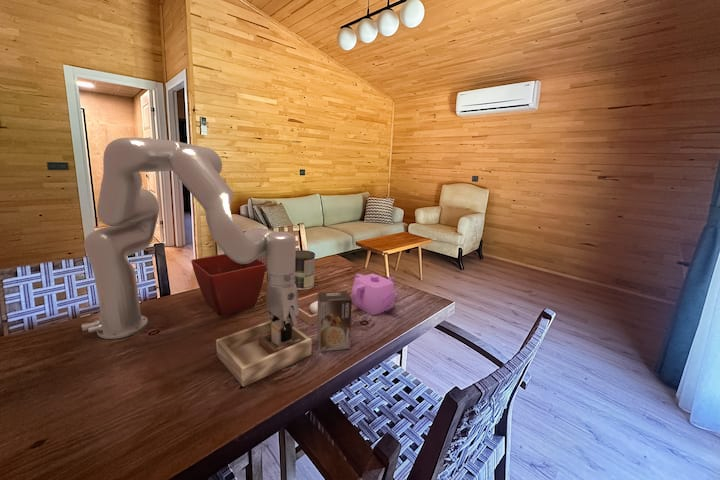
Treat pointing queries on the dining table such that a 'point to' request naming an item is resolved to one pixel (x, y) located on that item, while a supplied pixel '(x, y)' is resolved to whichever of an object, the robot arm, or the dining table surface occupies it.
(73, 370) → the dining table surface
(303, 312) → the garlic dish
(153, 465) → the dining table surface
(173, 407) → the dining table surface
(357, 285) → the teakettle
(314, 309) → the garlic
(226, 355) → the walled box
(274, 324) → the small white lidded box
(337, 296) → the coffee box
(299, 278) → the coffee can
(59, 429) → the dining table surface
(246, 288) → the plant pot
